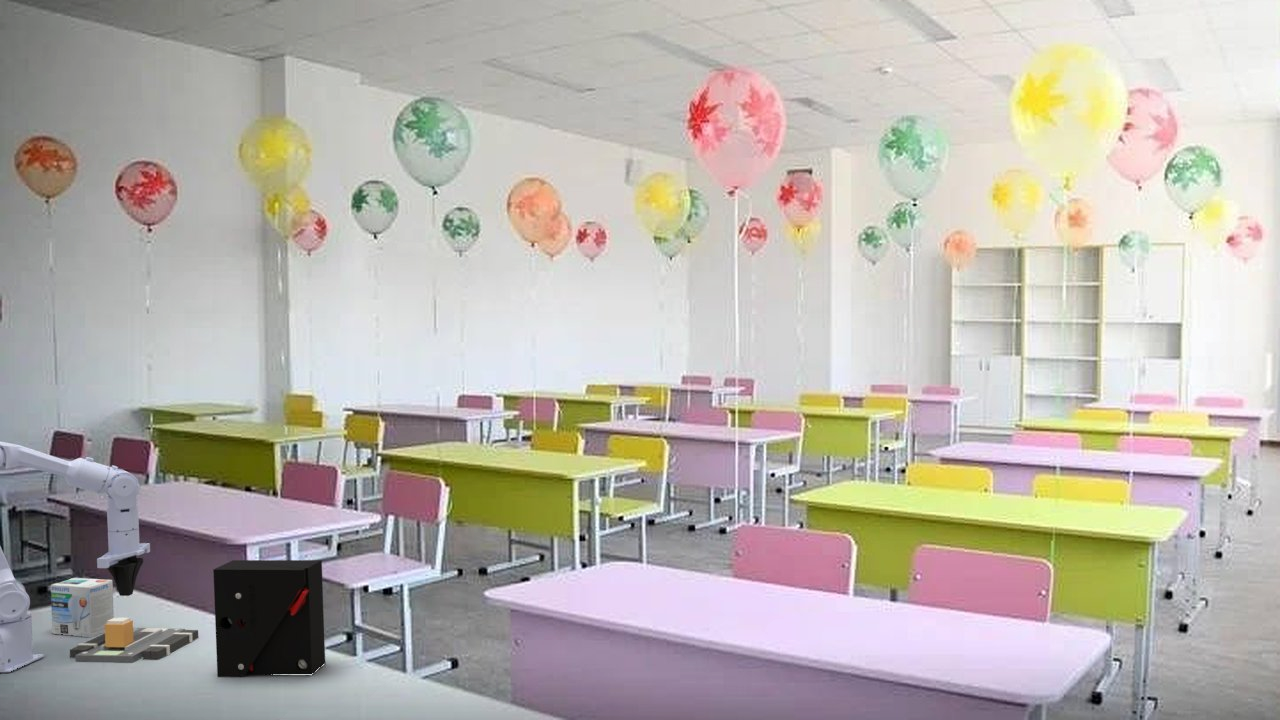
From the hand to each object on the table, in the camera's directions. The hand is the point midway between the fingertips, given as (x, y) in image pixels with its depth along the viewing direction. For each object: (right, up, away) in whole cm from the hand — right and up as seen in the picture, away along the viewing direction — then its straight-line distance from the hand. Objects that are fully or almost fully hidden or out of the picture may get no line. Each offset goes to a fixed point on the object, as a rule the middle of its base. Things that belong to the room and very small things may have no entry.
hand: (126, 595), depth 212 cm
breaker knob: (+2, -8, -7) cm, 11 cm away
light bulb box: (-14, -10, +9) cm, 19 cm away
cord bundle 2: (+11, -10, -4) cm, 15 cm away
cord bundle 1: (-4, -10, -2) cm, 11 cm away
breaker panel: (+3, -10, -3) cm, 11 cm away
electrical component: (+37, -10, -19) cm, 43 cm away
